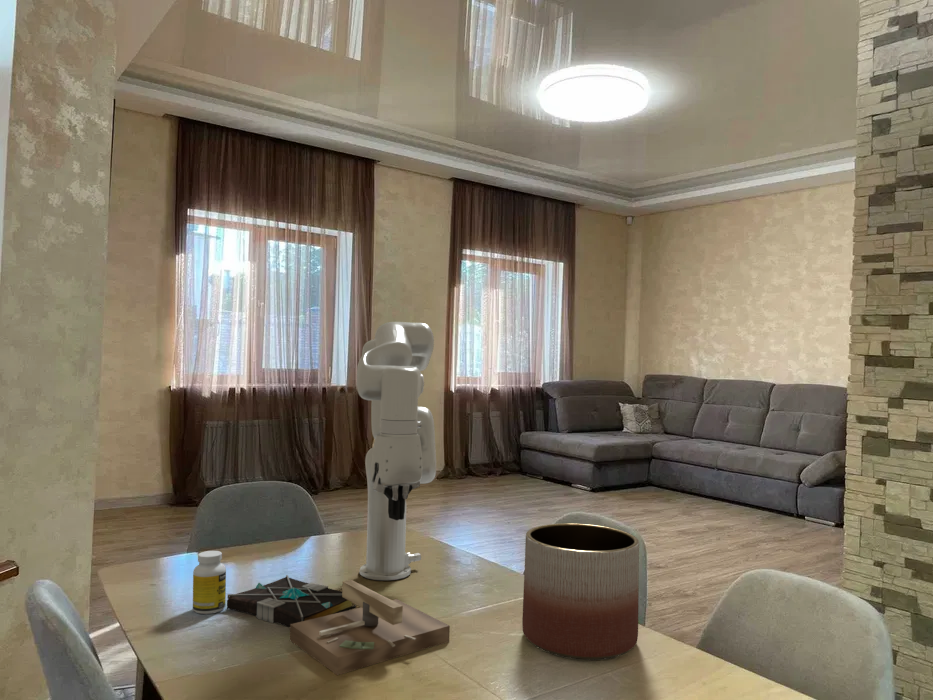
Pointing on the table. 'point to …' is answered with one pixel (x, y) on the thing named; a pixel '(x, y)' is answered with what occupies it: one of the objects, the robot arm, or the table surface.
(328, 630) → the wooden lever
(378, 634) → the dial board
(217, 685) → the table surface
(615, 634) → the planter
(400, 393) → the robot arm
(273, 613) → the book
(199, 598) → the pill bottle
